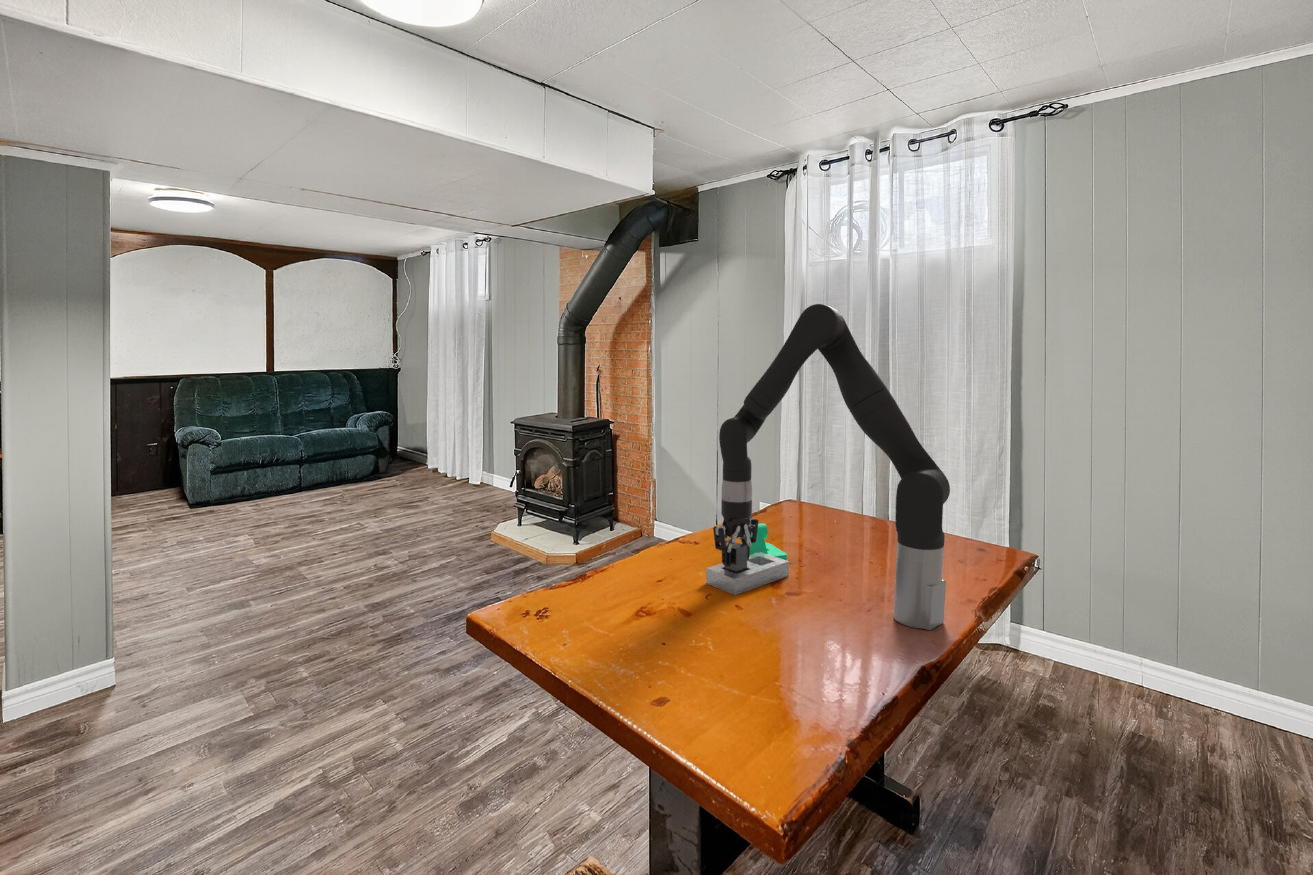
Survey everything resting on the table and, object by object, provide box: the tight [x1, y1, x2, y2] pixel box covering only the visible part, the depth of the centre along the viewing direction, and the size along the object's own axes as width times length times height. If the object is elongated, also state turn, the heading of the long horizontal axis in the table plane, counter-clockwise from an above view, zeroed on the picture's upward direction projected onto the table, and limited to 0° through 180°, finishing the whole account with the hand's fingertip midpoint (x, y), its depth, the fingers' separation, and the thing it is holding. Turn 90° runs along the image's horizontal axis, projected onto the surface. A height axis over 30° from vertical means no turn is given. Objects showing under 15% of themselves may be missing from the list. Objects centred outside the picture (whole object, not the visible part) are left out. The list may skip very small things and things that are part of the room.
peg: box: [724, 541, 747, 574], centre depth 157 cm, size 4×4×10 cm
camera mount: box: [750, 523, 788, 561], centre depth 177 cm, size 12×8×10 cm, turn 18°
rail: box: [705, 552, 790, 596], centre depth 160 cm, size 10×20×4 cm, turn 129°
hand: (735, 562), depth 157 cm, fingers open, 6 cm apart
